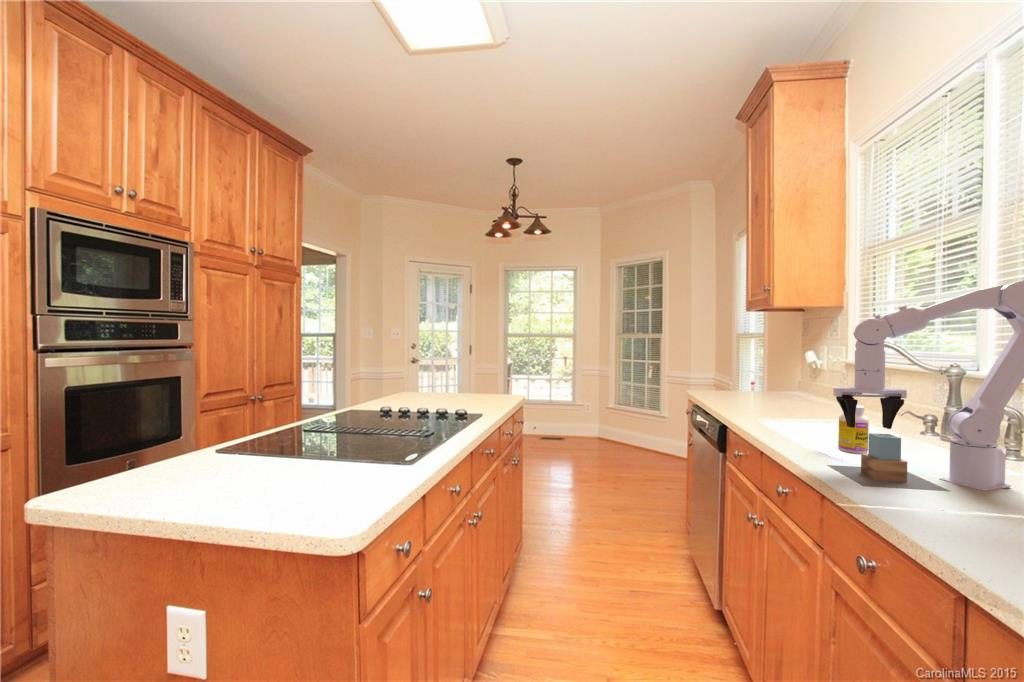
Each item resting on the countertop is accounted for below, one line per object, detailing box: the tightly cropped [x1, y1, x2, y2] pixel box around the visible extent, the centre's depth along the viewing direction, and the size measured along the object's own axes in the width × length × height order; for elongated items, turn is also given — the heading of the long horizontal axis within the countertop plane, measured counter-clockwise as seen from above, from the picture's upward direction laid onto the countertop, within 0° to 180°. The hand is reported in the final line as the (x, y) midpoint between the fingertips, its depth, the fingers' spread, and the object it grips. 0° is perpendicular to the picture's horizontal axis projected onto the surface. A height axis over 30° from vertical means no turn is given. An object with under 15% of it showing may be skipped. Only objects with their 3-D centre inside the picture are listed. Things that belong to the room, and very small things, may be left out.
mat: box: [826, 464, 951, 492], centre depth 104 cm, size 16×16×1 cm
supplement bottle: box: [837, 404, 870, 456], centre depth 128 cm, size 7×7×13 cm
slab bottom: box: [860, 462, 908, 482], centre depth 104 cm, size 6×6×2 cm
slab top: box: [860, 453, 908, 472], centre depth 104 cm, size 6×6×2 cm
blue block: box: [867, 432, 902, 461], centre depth 104 cm, size 4×4×5 cm
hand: (868, 427), depth 110 cm, fingers open, 7 cm apart
